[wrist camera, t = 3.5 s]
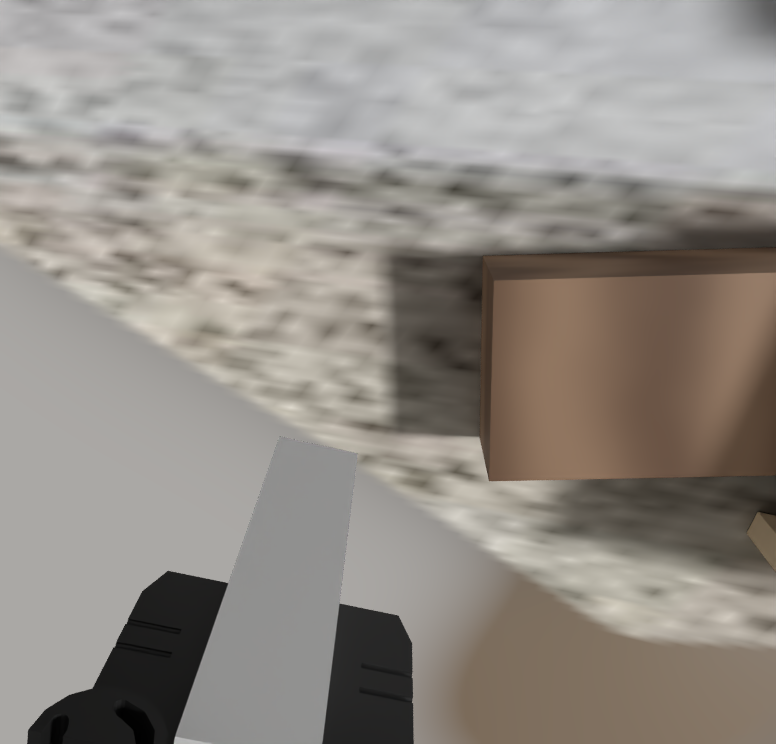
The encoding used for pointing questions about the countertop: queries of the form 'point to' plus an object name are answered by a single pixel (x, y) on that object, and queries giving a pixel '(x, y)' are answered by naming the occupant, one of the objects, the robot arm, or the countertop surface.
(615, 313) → the dark brown block
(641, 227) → the countertop surface
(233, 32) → the countertop surface
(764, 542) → the oak bridge
